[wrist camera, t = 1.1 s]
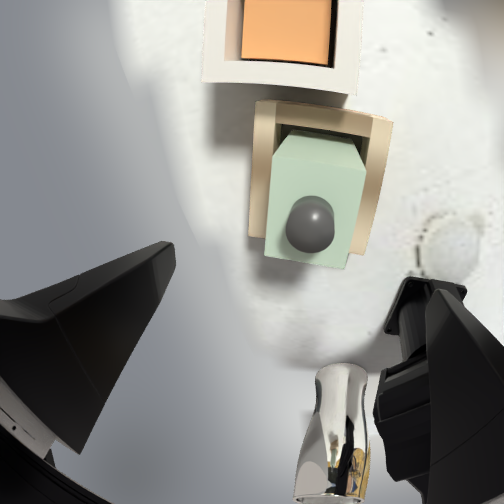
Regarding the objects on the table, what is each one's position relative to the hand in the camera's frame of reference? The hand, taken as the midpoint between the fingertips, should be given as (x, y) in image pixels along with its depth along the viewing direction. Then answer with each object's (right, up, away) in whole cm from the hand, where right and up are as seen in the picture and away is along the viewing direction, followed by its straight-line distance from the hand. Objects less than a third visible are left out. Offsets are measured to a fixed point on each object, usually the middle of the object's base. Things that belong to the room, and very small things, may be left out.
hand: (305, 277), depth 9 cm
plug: (+3, +7, +10) cm, 13 cm away
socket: (+1, +15, +5) cm, 16 cm away
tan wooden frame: (+3, +7, +10) cm, 13 cm away
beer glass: (+9, -13, +22) cm, 27 cm away
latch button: (0, +14, +4) cm, 15 cm away
